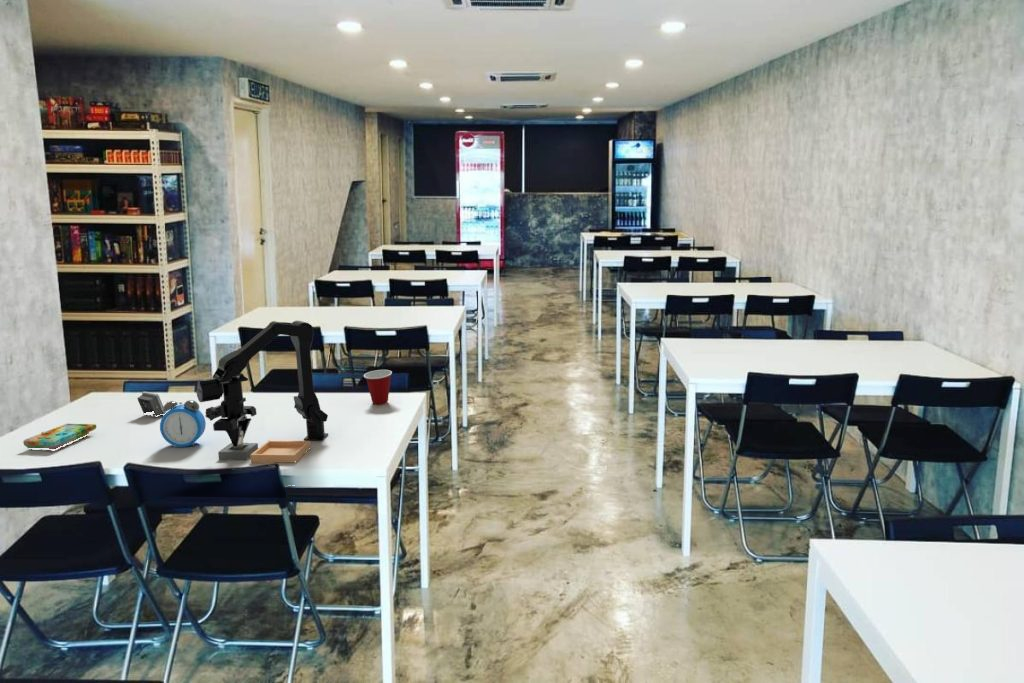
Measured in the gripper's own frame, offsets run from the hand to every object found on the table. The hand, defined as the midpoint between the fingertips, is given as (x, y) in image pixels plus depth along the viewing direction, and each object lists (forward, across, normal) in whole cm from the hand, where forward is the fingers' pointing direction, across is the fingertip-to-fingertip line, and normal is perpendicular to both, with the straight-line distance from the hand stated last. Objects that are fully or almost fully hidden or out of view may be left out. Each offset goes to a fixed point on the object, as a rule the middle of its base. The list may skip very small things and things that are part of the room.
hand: (237, 444), depth 261 cm
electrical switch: (+4, -44, -53) cm, 69 cm away
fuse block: (+4, 0, 0) cm, 4 cm away
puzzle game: (+4, -12, -68) cm, 69 cm away
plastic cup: (+4, -62, +29) cm, 69 cm away
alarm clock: (+4, -10, -23) cm, 25 cm away
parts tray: (+4, 0, +14) cm, 14 cm away
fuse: (+4, 0, 0) cm, 4 cm away
